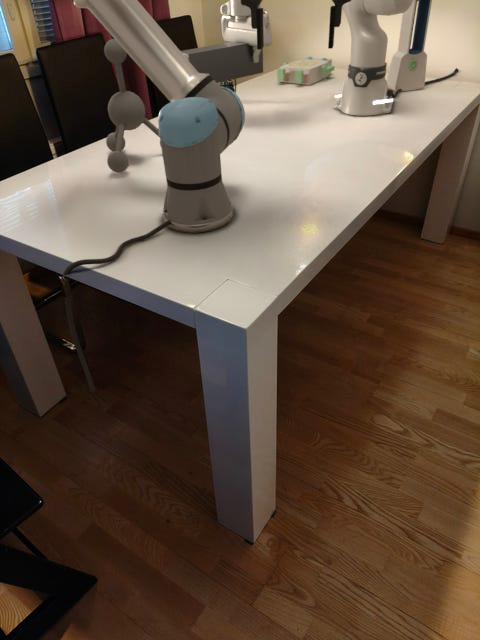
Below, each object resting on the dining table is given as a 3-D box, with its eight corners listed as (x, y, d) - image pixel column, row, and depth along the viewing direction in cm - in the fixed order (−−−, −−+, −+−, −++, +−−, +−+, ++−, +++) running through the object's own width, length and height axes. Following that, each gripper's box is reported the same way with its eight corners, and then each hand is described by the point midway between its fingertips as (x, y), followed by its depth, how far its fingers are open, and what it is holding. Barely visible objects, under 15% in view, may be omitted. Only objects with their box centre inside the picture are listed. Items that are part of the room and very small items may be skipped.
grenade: (217, 103, 183) (215, 73, 177) (221, 99, 187) (219, 70, 181) (234, 103, 181) (233, 73, 175) (238, 99, 186) (236, 70, 180)
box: (191, 88, 139) (188, 54, 134) (180, 84, 143) (176, 51, 138) (263, 72, 151) (262, 40, 146) (250, 69, 155) (249, 38, 150)
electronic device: (394, 92, 183) (407, -4, 164) (384, 88, 188) (396, -5, 170) (424, 88, 185) (440, -6, 166) (413, 84, 191) (428, -8, 172)
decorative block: (300, 55, 216) (341, 58, 206) (299, 71, 220) (340, 74, 210) (268, 66, 200) (311, 70, 190) (268, 83, 204) (310, 87, 194)
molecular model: (192, 164, 133) (178, 39, 115) (111, 178, 128) (83, 49, 109) (169, 139, 151) (154, 28, 132) (98, 152, 145) (72, 36, 127)
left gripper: (375, -102, 81) (362, 43, 94) (230, -91, 86) (236, 45, 99) (375, -105, 75) (360, 50, 88) (219, -93, 80) (227, 52, 93)
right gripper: (276, 8, 136) (277, 63, 144) (233, 4, 149) (236, 55, 157) (259, 10, 133) (260, 66, 141) (216, 7, 146) (220, 58, 155)
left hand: (295, 48), depth 94 cm, fingers open, 13 cm apart
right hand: (247, 60), depth 149 cm, fingers closed on box, 6 cm apart
